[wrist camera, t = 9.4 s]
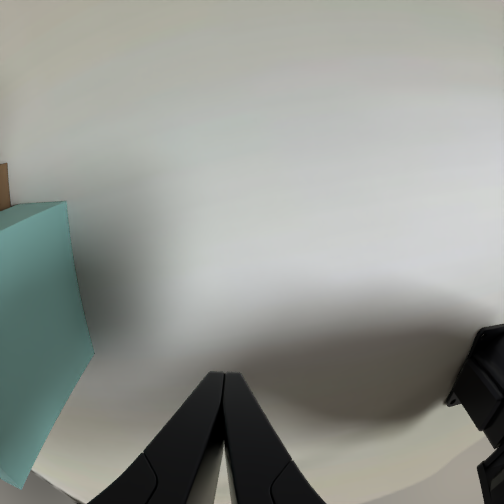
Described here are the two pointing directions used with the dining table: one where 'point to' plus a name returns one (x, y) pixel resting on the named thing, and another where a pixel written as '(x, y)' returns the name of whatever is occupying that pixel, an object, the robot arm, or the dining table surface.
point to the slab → (36, 331)
